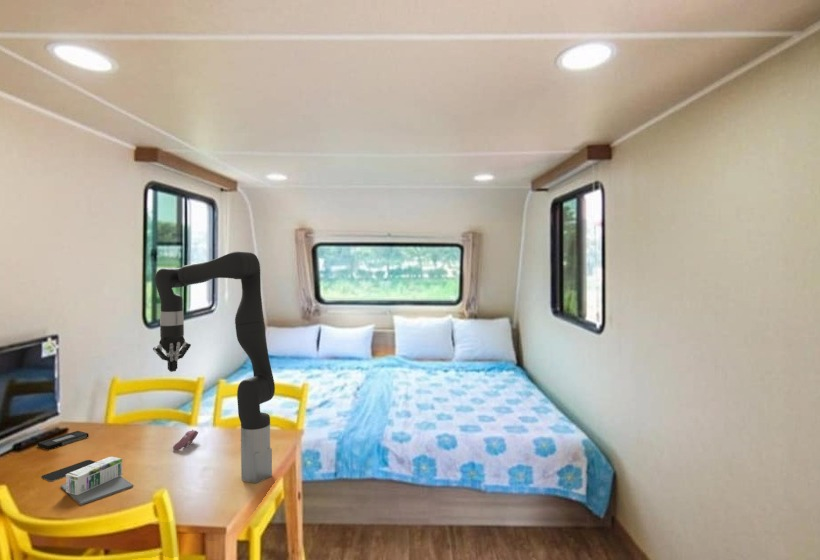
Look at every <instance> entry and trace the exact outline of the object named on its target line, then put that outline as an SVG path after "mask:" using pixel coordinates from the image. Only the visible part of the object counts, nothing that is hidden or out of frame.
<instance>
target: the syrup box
mask: <svg viewBox="0 0 820 560" xmlns="http://www.w3.org/2000/svg"><path fill="white" fill-rule="evenodd" d="M123 475H124V474H123V458H120V457H116V456H107V457H106V458H103V459H100V460H98V461H95V463H93V464H90V465H88V466H85V467H83V468H80V469H78V470H75V471H73V472H70V473H68V474H66V477H65V478H66V479H65V484H66V491H65V493H67V492H68V493H71V494H75V495H79V494H82V493H84V492H86V491H88V490H90V489H92V488H95V487H97V486H99V485H101V484H103V483H105V482H108V481H110V480H112V479H114V478H117V477H119V476H121V477H122V476H123ZM68 493H67V494H68Z"/></svg>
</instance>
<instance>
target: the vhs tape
mask: <svg viewBox="0 0 820 560" xmlns="http://www.w3.org/2000/svg"><path fill="white" fill-rule="evenodd" d="M89 435H90V434H89V433H88V432H85V431H80V430H76V431H73V432H69V433H65V434H62V435H58V436H56V437H53V438H49V439H46V440H42V441H39V442H37V447H38V446H39V447H38V448H41V449H44V448H45V450H47V449H48V451H49V449H50V450H53V449H56V448H59V447H62V446H64V445H68V444H72V443H74V441H75V442H78V441H81V440H83V439H87V437H88V438H89V437H90V436H89ZM58 446H59V447H58ZM55 447H56V448H55ZM52 448H53V449H52Z"/></svg>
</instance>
